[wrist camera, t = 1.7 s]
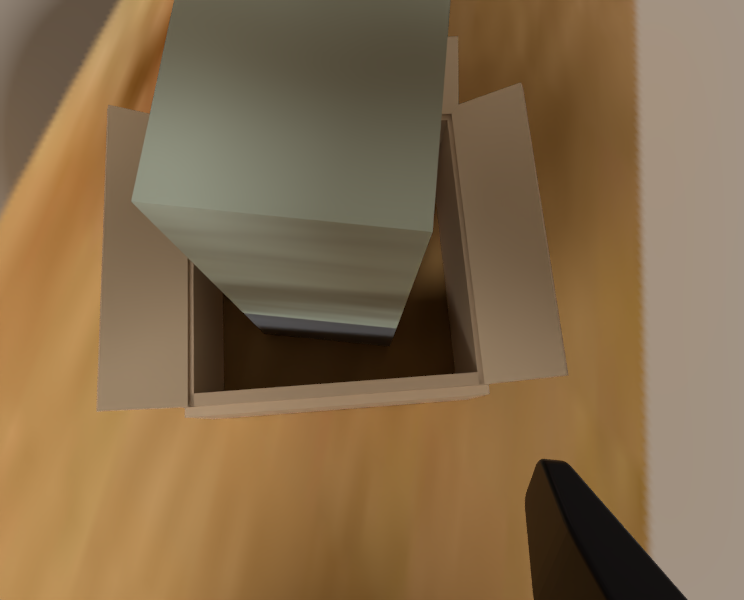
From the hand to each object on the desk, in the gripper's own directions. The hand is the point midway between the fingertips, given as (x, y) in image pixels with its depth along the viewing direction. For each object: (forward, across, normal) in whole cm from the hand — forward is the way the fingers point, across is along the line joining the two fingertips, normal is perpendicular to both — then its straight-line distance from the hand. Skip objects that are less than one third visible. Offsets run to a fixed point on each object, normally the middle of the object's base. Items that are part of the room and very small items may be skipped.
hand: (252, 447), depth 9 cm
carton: (+13, 0, +4) cm, 14 cm away
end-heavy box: (+13, 0, +4) cm, 14 cm away
